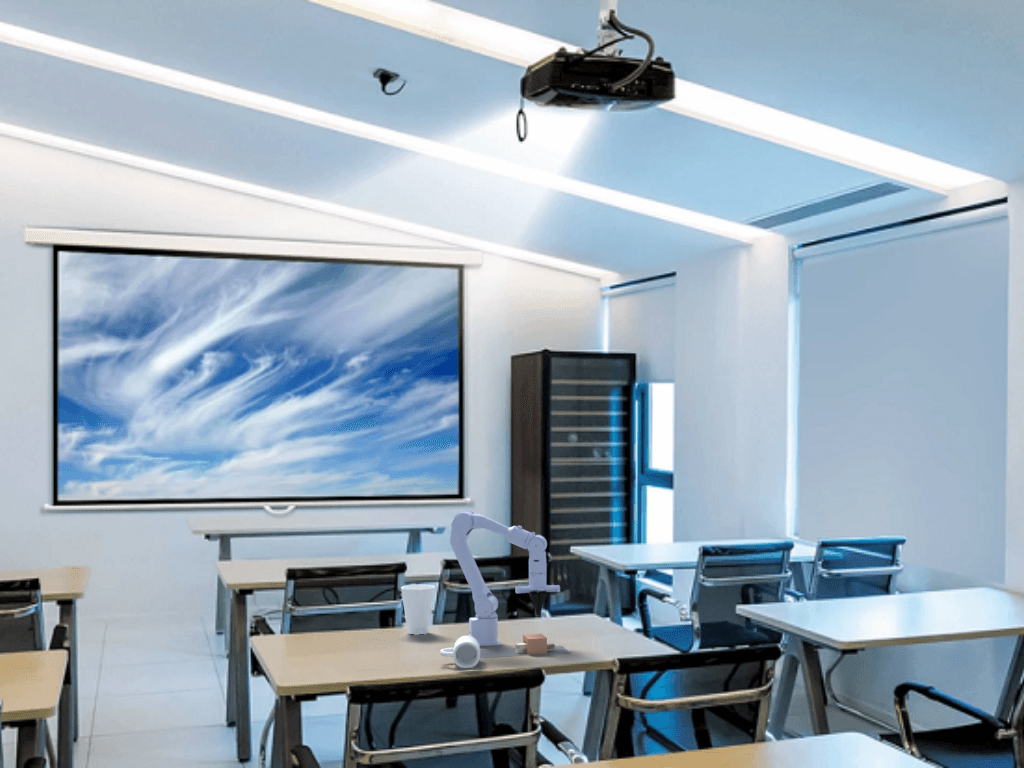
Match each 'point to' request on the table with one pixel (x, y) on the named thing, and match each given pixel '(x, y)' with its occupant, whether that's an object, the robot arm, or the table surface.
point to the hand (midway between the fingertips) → (538, 614)
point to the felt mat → (512, 652)
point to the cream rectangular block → (523, 647)
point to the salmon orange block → (535, 643)
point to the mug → (464, 652)
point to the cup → (418, 607)
